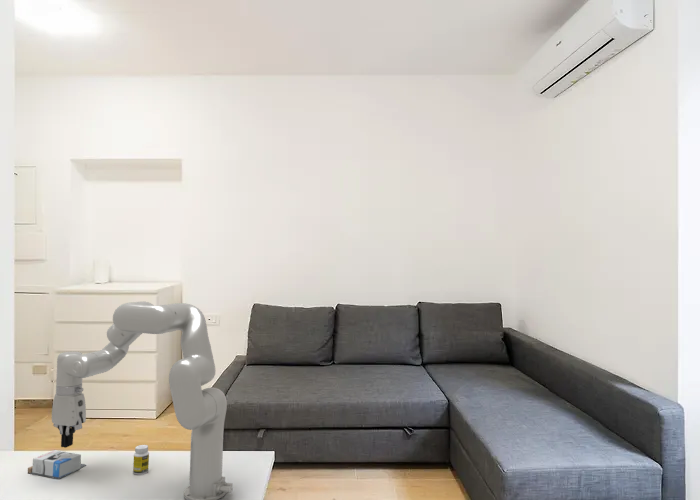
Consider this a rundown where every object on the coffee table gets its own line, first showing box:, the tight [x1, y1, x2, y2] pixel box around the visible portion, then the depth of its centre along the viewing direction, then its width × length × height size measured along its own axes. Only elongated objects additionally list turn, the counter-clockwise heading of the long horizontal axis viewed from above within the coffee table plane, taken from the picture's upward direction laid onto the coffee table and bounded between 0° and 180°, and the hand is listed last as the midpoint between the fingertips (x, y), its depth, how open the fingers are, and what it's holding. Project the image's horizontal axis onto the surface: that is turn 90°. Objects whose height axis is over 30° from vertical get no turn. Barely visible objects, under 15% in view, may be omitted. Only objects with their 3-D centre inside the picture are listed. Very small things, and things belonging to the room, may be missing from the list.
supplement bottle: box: [132, 444, 150, 476], centre depth 165 cm, size 5×5×8 cm
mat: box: [27, 463, 87, 480], centre depth 165 cm, size 13×11×2 cm
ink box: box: [32, 449, 82, 479], centre depth 164 cm, size 8×5×12 cm
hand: (66, 445), depth 162 cm, fingers closed
